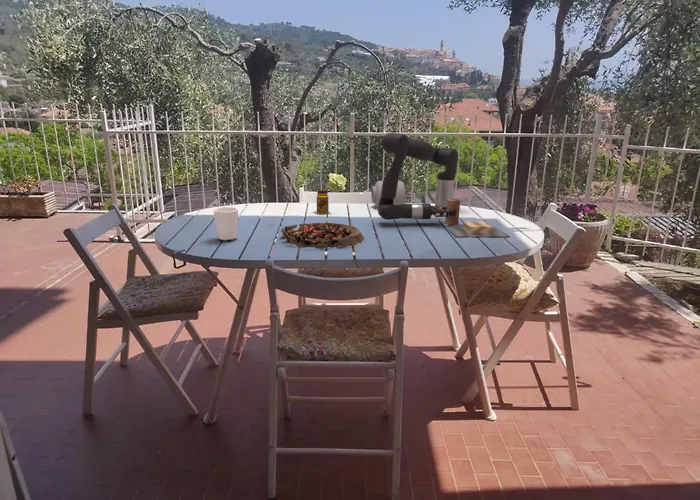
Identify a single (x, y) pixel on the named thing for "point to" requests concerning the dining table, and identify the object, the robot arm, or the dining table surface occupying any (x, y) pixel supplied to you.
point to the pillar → (452, 206)
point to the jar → (397, 200)
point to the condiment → (322, 202)
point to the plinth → (476, 230)
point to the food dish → (322, 235)
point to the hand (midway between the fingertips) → (453, 211)
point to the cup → (226, 223)
